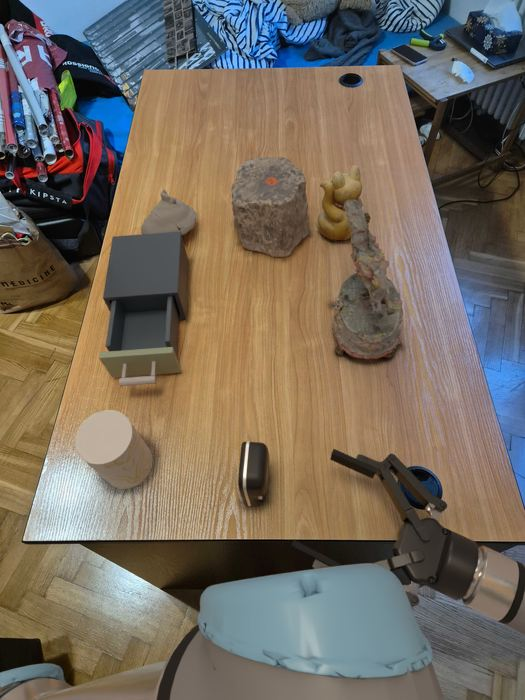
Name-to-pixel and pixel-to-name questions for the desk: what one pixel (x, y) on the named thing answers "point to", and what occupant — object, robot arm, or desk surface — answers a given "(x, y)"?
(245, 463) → the battery charger
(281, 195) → the petrified wood
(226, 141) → the desk surface
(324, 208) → the decorative figurine
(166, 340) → the drawer
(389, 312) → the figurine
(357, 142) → the desk surface
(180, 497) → the desk surface
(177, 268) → the cabinet
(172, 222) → the grey clay mound
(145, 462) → the cup
